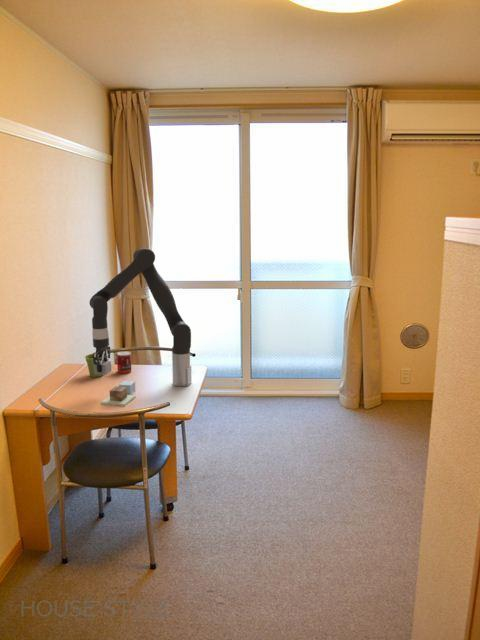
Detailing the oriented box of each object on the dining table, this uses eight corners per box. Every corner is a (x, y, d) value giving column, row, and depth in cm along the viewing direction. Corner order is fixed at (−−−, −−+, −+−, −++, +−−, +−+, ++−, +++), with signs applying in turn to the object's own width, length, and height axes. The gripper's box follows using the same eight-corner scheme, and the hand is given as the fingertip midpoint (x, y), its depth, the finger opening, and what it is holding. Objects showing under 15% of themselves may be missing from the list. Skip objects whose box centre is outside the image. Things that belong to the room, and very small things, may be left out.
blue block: (135, 391, 260) (135, 381, 259) (130, 395, 254) (130, 385, 253) (124, 390, 261) (124, 380, 260) (119, 394, 255) (118, 384, 254)
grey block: (111, 371, 254) (110, 361, 253) (105, 374, 248) (105, 364, 247) (100, 370, 255) (99, 360, 254) (94, 374, 249) (93, 364, 248)
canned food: (121, 374, 285) (120, 355, 283) (115, 371, 291) (114, 352, 289) (134, 372, 290) (133, 353, 288) (127, 368, 296) (126, 350, 294)
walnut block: (127, 397, 248) (126, 387, 247) (121, 401, 242) (121, 391, 241) (115, 396, 249) (115, 386, 248) (109, 400, 243) (109, 390, 242)
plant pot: (109, 372, 289) (108, 353, 287) (105, 378, 278) (104, 358, 276) (88, 372, 289) (87, 353, 287) (82, 378, 277) (81, 358, 275)
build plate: (135, 397, 250) (135, 395, 250) (124, 406, 239) (124, 404, 238) (112, 395, 253) (112, 393, 253) (101, 404, 241) (101, 402, 241)
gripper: (100, 340, 240) (103, 375, 244) (114, 333, 254) (116, 366, 257) (86, 340, 242) (88, 374, 245) (100, 333, 255) (102, 365, 259)
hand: (102, 370), depth 251 cm, fingers closed on grey block, 6 cm apart
